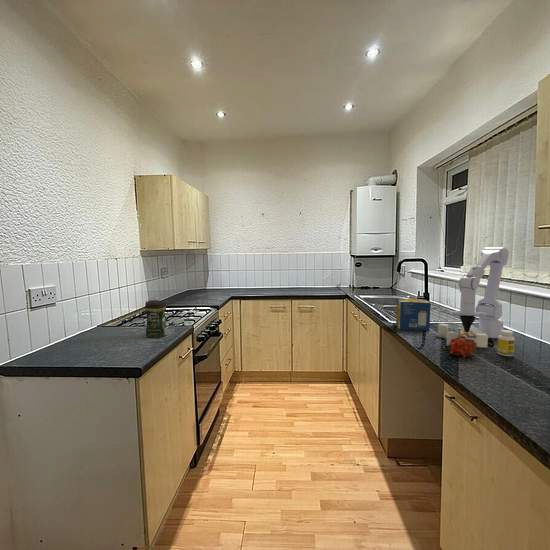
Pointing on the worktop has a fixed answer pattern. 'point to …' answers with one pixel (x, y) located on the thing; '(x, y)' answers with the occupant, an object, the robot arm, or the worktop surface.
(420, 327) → the protein box
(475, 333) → the breaker panel
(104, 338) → the worktop surface
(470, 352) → the dragon fruit
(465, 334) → the breaker paddle
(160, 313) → the coffee jar
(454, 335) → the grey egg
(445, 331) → the white cylinder tube
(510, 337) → the supplement bottle
